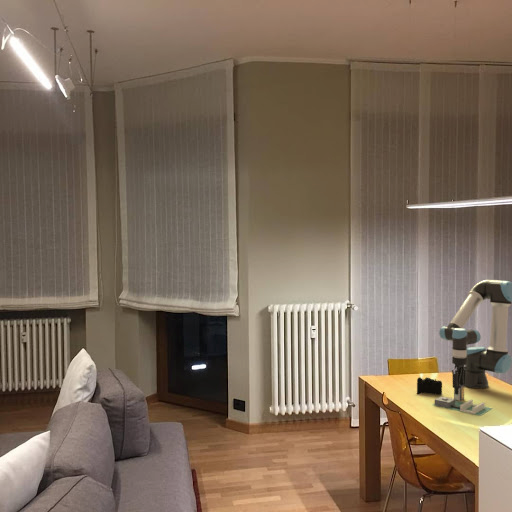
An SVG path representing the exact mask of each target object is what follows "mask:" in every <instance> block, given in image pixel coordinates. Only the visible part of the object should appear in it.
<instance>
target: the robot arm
mask: <svg viewBox="0 0 512 512" xmlns="http://www.w3.org/2000/svg"><path fill="white" fill-rule="evenodd" d="M485 300H489V303H490V304H491V306H492V310H491V322H490V338H489V345H488V347H484V346H472V347H470V346H469V345H474V344H477V343H479V342H480V341H481V337H482V336H481V334H480V332H479V331H478V330H477V329H466V328H464V327H465V325H467V322H468V321H469V319H470V318H471V316H472V315H473V314H474V312H475V311H476V309H477V308H478V306H479V305H480V304H482V303H483V302H484V301H485ZM511 305H512V281H508V280H497V279H485V280H481V281H479V282H478V283H476V284H474V285H473V286H472V287H471V288H470V290H469V291H468V293H467V297H466V298H465V300H464V301H463V303H462V304H461V306H460V307H459V309H458V311H456V313H455V314H454V316H453V318H452V319H451V320H450V322H449V323H448V325H447V326H442V327H441V328H440V329H439V333H438V334H439V337H440V338H441V340H446V341H450V342H452V343H451V344H452V347H451V348H452V349H451V352H452V358H451V360H452V364H453V365H454V369H452V370H451V373H452V388H453V389H454V388H455V399H456V401H460V388H459V385H460V384H461V385H464V387H465V388H466V387H467V388H471V389H486V388H488V387H489V380H488V377H487V374H486V371H487V372H491V373H495V374H500V375H501V374H506V373H508V372H509V370H510V369H511V366H512V356H511V355H510V354H509V350H508V349H507V348H506V347H507V346H506V345H507V330H508V329H507V328H508V319H509V317H508V316H509V307H510V306H511ZM468 346H469V347H468Z"/></svg>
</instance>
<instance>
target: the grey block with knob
mask: <svg viewBox="0 0 512 512" xmlns="http://www.w3.org/2000/svg"><path fill="white" fill-rule="evenodd" d="M456 401H457V400H456V399H454V398H452V397H446V396H442V395H440V396H438V397H437V398H435V399H434V404H435V405H437V406H436V407H438V406H441V407H440V408H442V407H446V408H445V409H447V408H450V407H451V405H452V406H454V405H456Z"/></svg>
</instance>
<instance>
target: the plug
mask: <svg viewBox="0 0 512 512" xmlns="http://www.w3.org/2000/svg"><path fill="white" fill-rule="evenodd" d="M459 388H460V400H459V402H463V400H465V386H464V385H461V384H460V385H459ZM453 399H455V388H453Z"/></svg>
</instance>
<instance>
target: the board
mask: <svg viewBox="0 0 512 512" xmlns="http://www.w3.org/2000/svg"><path fill="white" fill-rule="evenodd" d="M464 403H465V402H463V401H460V400H456V405H454V406H452V405H451V407H450V408H446V407H441V406H437V405H435V403H433V404H432V406H434V407H439V408H443V409H448V410H453V411H457V412H461V413H463V412H462V411H460V405H462V404H464ZM473 407H474V406H471V407H469V408H467V409H466V410H470V411H473ZM491 410H493V407H492V408H491V407H487V406H485V408H484V409H483V410H481V411H479V412H477V413H476V414H473V415H474V416H480V417H482V415H485V414H486V413H488V412H490V411H491ZM464 413H466V414H468V413H467V412H464ZM469 414H470V415H472V414H471V413H469Z"/></svg>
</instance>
